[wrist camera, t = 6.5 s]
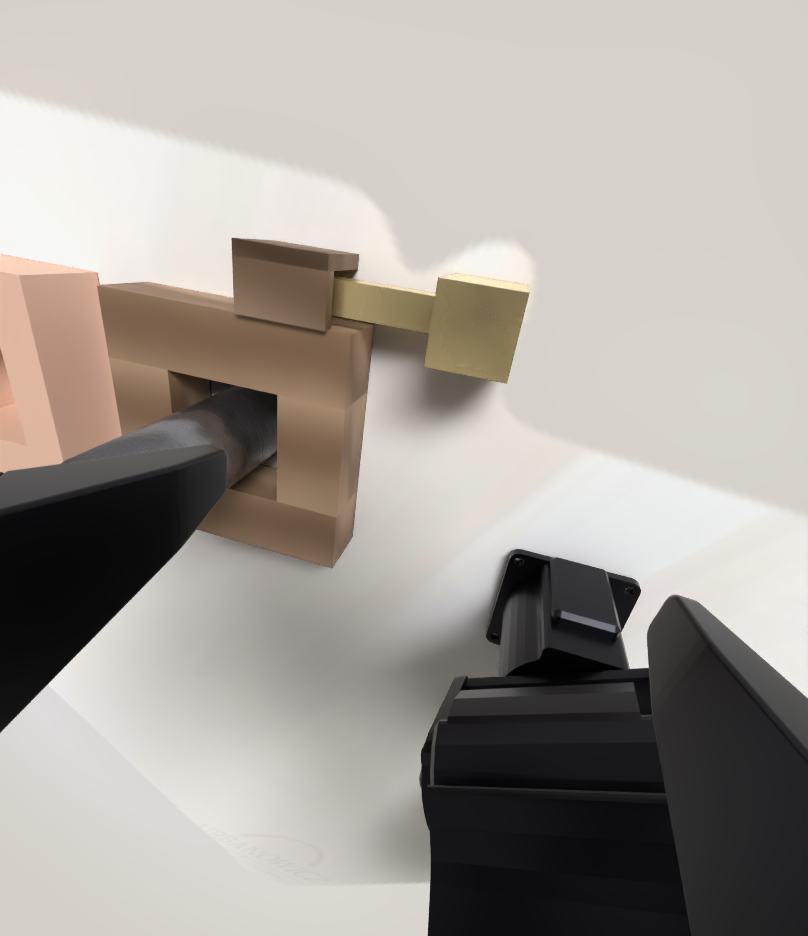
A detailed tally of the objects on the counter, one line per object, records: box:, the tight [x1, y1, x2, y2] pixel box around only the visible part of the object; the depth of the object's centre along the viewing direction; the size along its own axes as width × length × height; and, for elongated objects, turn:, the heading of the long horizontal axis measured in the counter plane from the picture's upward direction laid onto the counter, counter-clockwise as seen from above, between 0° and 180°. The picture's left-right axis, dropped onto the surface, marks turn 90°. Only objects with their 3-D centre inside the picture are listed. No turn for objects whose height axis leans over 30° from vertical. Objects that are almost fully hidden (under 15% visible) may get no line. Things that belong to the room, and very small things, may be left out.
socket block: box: [97, 238, 374, 568], centre depth 22 cm, size 15×12×3 cm
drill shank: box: [61, 386, 277, 491], centre depth 20 cm, size 4×4×10 cm
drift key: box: [331, 273, 530, 383], centre depth 18 cm, size 3×11×4 cm, turn 82°
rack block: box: [0, 254, 122, 473], centre depth 25 cm, size 12×10×4 cm
